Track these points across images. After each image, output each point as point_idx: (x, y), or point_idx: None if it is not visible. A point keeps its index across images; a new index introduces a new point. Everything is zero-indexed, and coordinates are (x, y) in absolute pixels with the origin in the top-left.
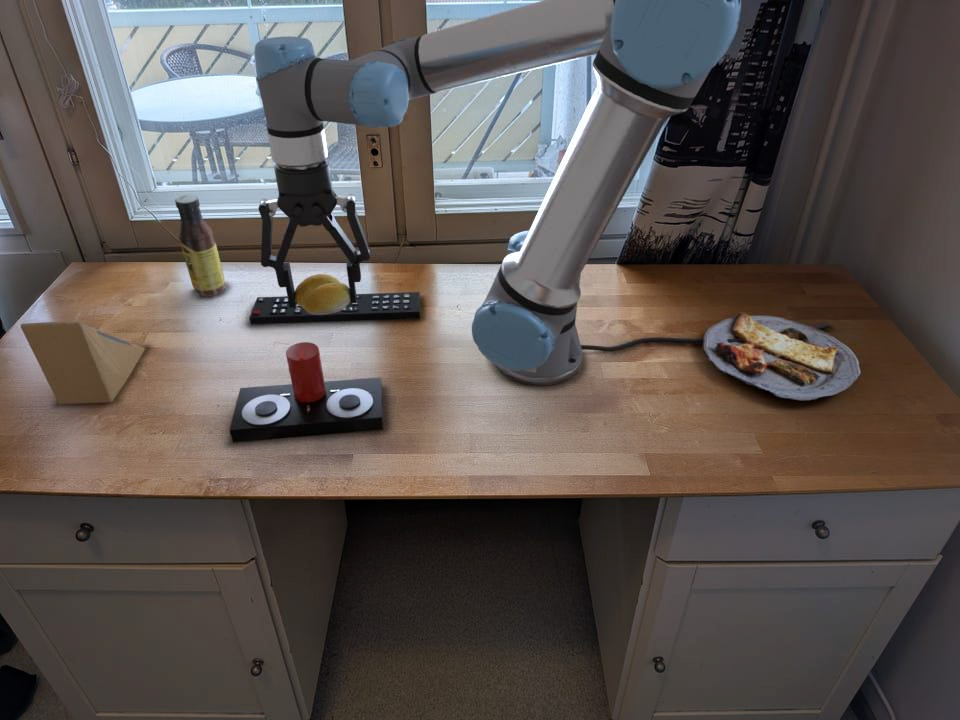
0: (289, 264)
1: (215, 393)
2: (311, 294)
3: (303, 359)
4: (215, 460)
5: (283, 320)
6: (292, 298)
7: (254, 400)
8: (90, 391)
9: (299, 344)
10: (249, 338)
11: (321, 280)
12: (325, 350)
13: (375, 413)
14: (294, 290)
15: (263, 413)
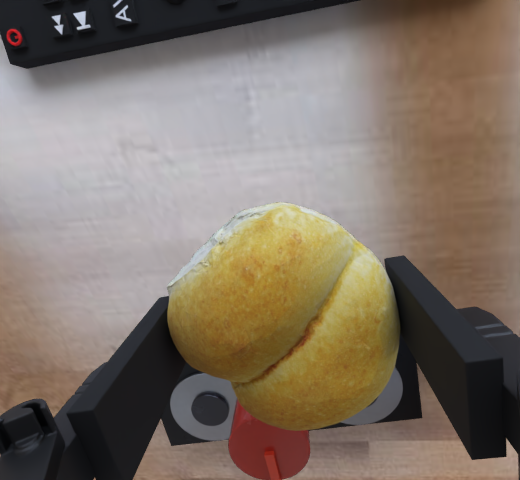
0: (100, 410)
1: (91, 319)
2: (260, 412)
3: (281, 477)
4: (171, 452)
5: (100, 49)
6: (179, 372)
7: (180, 389)
8: None
9: (252, 426)
10: (56, 132)
11: (278, 338)
12: (249, 167)
13: (409, 409)
14: (163, 316)
15: (211, 424)
